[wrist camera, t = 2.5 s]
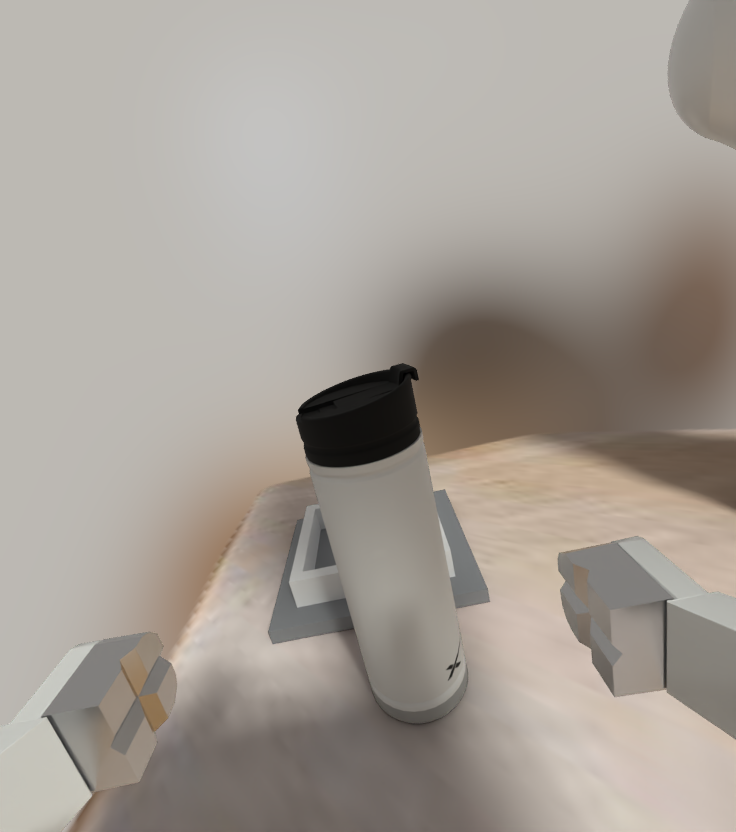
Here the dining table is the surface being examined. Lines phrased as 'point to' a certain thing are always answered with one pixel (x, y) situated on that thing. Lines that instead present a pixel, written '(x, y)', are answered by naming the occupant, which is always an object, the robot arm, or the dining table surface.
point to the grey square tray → (322, 589)
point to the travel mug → (387, 540)
